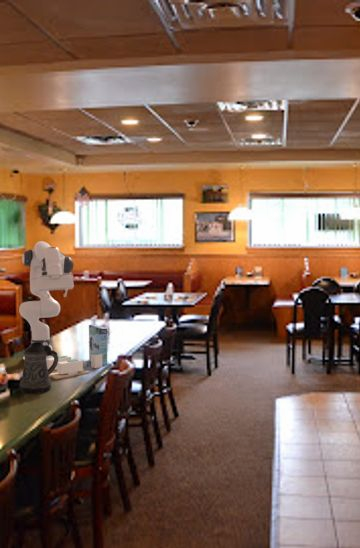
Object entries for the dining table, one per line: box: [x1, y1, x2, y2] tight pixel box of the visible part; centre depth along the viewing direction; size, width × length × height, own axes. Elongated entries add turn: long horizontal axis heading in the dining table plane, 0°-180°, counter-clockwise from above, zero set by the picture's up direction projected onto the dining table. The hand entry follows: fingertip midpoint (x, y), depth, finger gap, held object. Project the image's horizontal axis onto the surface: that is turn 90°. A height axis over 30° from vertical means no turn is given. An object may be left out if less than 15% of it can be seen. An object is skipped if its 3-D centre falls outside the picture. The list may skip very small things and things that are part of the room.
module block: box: [90, 353, 103, 369], centre depth 388 cm, size 5×5×8 cm
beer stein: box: [19, 343, 59, 395], centre depth 335 cm, size 16×19×25 cm
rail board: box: [46, 355, 90, 380], centre depth 372 cm, size 20×22×8 cm
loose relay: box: [83, 360, 88, 368], centre depth 389 cm, size 4×6×3 cm, turn 131°
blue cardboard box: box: [88, 324, 108, 366], centre depth 401 cm, size 20×5×23 cm, turn 29°
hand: (56, 297), depth 354 cm, fingers open, 8 cm apart
